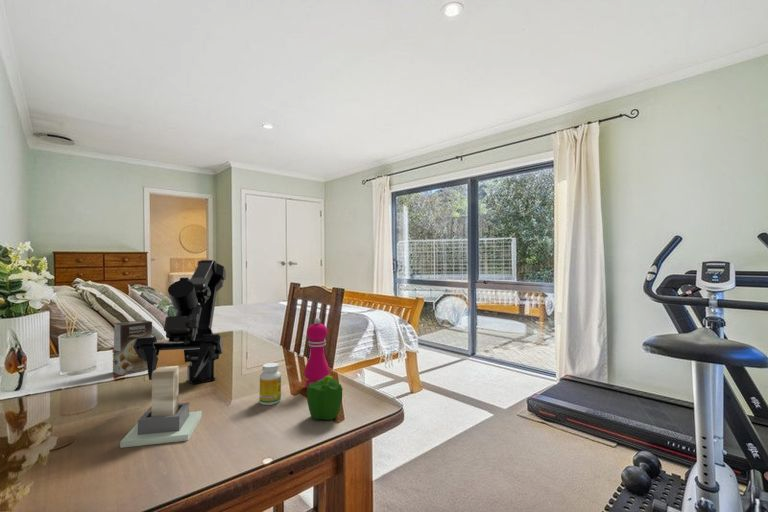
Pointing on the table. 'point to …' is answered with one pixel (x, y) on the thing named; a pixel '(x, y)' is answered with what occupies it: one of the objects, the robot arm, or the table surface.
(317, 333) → the pepper mill
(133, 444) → the socket holder
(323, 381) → the bell pepper
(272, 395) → the supplement bottle
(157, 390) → the plug block
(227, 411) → the table surface
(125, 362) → the coffee box
